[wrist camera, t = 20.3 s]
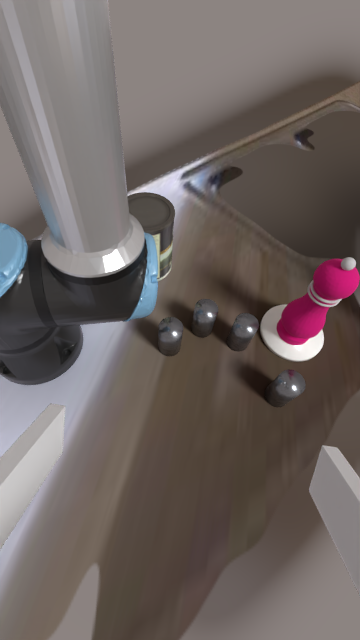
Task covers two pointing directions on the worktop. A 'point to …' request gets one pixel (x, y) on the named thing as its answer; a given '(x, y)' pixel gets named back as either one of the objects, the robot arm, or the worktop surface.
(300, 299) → the pepper mill
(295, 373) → the posts
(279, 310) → the disc
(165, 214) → the coffee can
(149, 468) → the worktop surface
